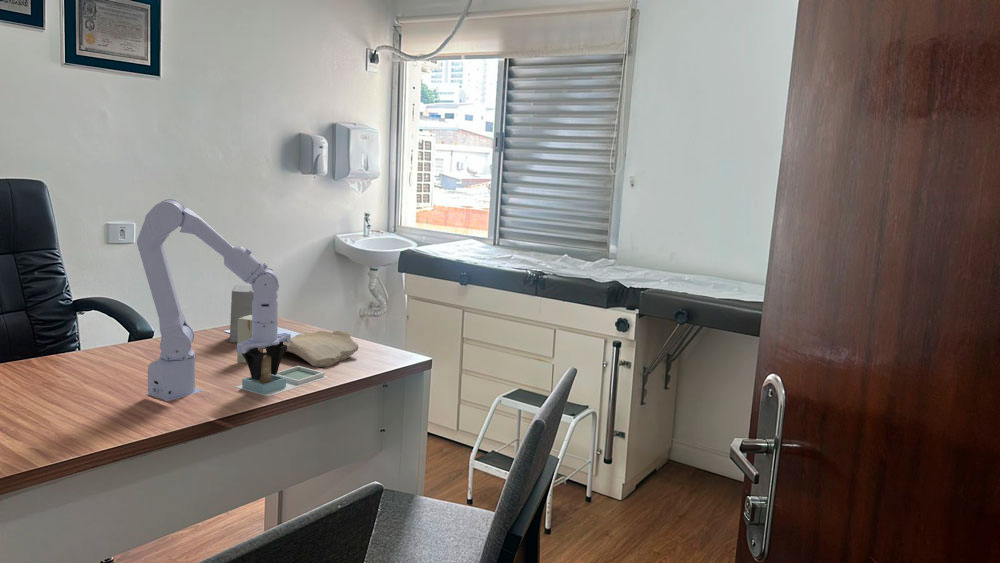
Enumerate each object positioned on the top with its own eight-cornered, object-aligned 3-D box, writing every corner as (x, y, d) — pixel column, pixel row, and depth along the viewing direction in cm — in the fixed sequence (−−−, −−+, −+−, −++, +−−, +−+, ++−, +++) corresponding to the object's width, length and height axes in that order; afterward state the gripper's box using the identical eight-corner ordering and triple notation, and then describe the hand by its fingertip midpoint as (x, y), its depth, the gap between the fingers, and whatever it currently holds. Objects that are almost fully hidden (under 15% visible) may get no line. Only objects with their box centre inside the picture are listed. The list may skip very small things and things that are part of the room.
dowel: (263, 390, 167) (264, 359, 166) (254, 387, 168) (255, 357, 167) (273, 387, 170) (273, 356, 168) (264, 384, 171) (264, 354, 170)
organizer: (267, 399, 163) (267, 392, 163) (234, 389, 168) (234, 382, 168) (328, 378, 180) (328, 372, 180) (296, 370, 185) (297, 364, 185)
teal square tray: (263, 394, 164) (263, 385, 164) (242, 388, 168) (242, 379, 167) (286, 386, 170) (286, 378, 170) (265, 381, 174) (265, 372, 173)
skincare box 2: (251, 365, 187) (251, 320, 185) (236, 363, 188) (236, 318, 186) (264, 359, 194) (264, 315, 192) (249, 357, 194) (249, 313, 192)
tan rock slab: (303, 344, 215) (250, 351, 198) (306, 320, 214) (253, 325, 197) (365, 362, 203) (314, 371, 186) (368, 337, 202) (317, 343, 185)
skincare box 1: (232, 336, 215) (232, 284, 213) (257, 336, 217) (257, 285, 214) (228, 343, 207) (228, 290, 205) (254, 343, 209) (254, 290, 206)
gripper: (252, 328, 158) (252, 387, 160) (300, 318, 171) (299, 372, 173) (230, 323, 161) (230, 381, 164) (278, 313, 174) (278, 367, 176)
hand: (264, 376), depth 168 cm, fingers open, 5 cm apart
